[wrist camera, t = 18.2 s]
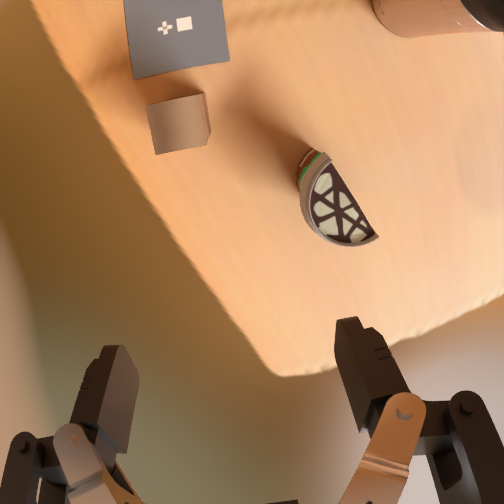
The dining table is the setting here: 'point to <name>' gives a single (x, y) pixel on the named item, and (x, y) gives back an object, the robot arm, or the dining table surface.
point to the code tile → (174, 35)
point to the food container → (330, 203)
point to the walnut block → (179, 123)
